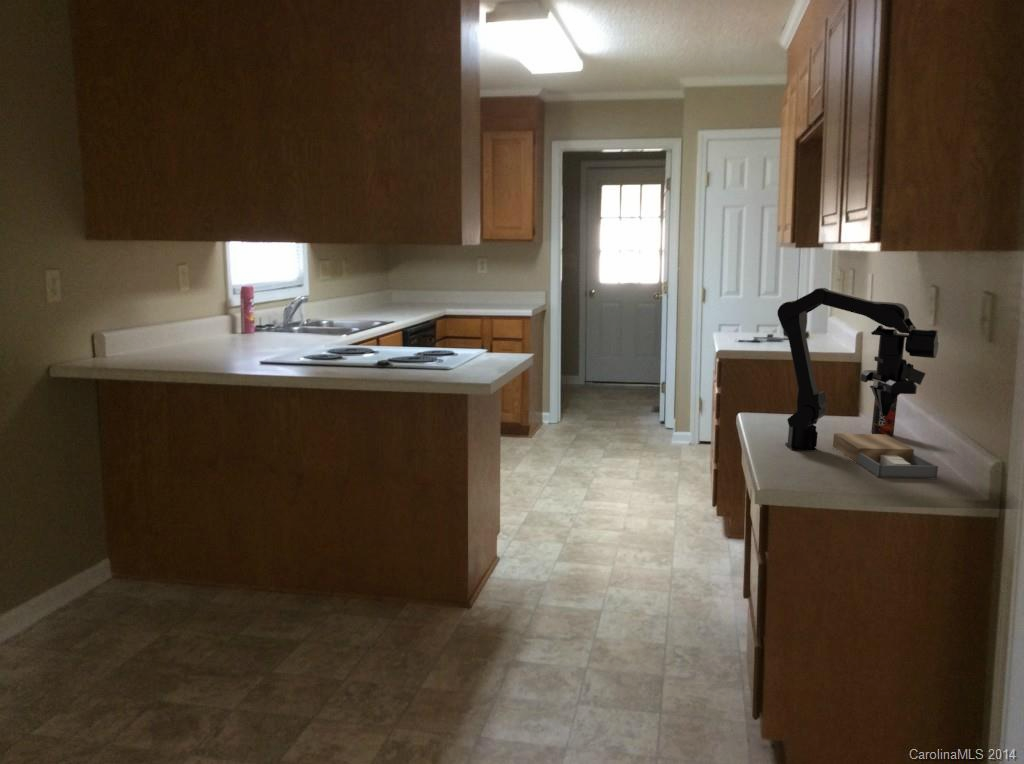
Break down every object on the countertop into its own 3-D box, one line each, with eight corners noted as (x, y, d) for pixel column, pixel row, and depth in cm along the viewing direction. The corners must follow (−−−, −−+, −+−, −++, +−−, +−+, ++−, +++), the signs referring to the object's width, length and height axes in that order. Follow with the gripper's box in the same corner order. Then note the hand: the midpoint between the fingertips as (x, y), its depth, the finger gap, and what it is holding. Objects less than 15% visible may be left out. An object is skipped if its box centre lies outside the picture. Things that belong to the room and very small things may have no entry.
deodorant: (872, 435, 251) (878, 384, 248) (869, 431, 256) (874, 380, 254) (895, 437, 249) (900, 385, 247) (891, 433, 255) (896, 382, 252)
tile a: (888, 467, 215) (889, 459, 215) (879, 462, 219) (880, 455, 219) (903, 467, 216) (904, 459, 216) (895, 462, 220) (895, 454, 219)
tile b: (887, 459, 215) (886, 467, 215) (894, 463, 211) (893, 471, 211) (903, 459, 215) (902, 467, 215) (911, 464, 211) (910, 472, 211)
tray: (878, 477, 208) (879, 465, 207) (857, 464, 220) (858, 452, 219) (936, 478, 208) (937, 466, 208) (912, 465, 220) (913, 453, 219)
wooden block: (857, 463, 220) (858, 448, 219) (832, 447, 235) (834, 433, 235) (912, 464, 220) (914, 449, 219) (884, 448, 236) (885, 434, 235)
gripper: (941, 360, 209) (934, 424, 212) (905, 349, 228) (899, 408, 230) (895, 359, 209) (888, 423, 212) (862, 348, 227) (857, 407, 230)
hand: (884, 415), depth 221 cm, fingers closed
